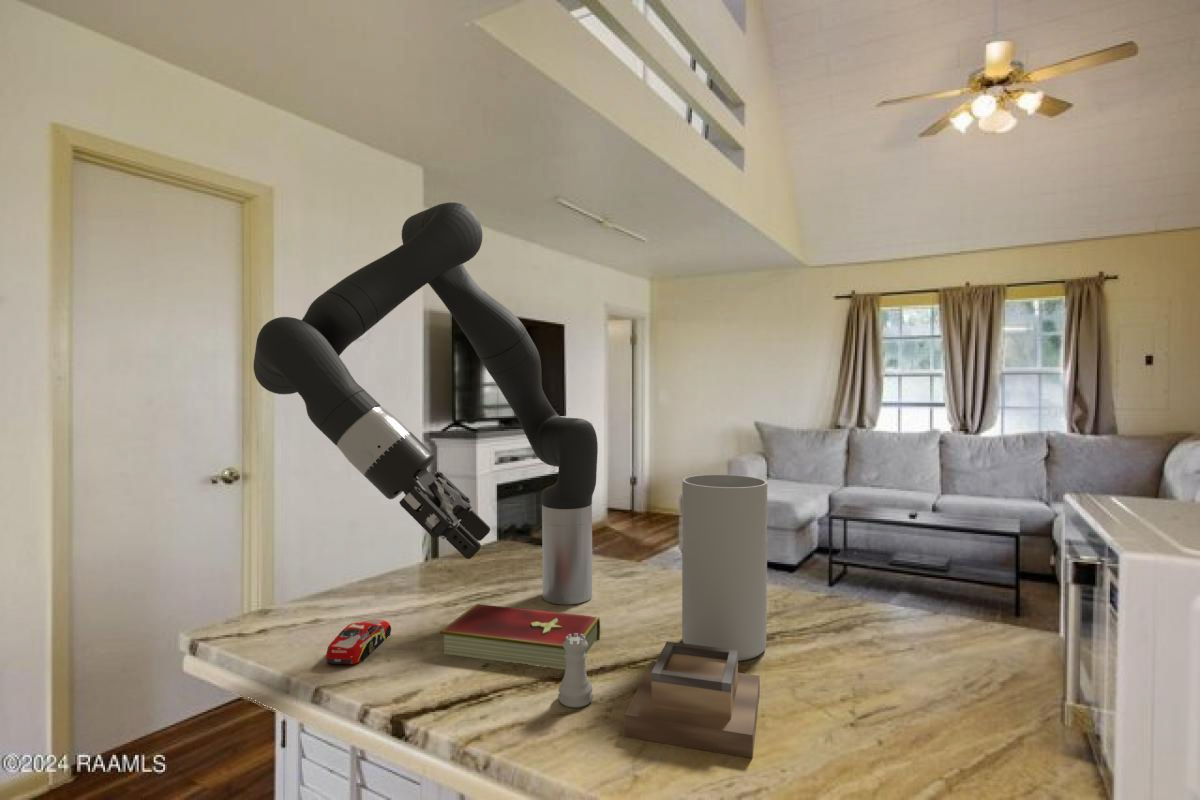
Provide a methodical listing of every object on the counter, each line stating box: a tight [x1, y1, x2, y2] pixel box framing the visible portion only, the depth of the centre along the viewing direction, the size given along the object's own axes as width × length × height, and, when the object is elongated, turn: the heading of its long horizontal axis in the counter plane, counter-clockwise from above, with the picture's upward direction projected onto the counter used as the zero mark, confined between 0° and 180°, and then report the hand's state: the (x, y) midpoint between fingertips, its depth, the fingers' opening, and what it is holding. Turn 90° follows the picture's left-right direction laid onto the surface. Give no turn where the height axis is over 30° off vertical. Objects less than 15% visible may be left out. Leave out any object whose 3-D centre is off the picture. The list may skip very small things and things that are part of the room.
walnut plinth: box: [624, 640, 761, 759], centre depth 75 cm, size 14×14×6 cm
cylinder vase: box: [681, 474, 768, 662], centre depth 94 cm, size 12×12×25 cm
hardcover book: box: [439, 603, 601, 670], centre depth 95 cm, size 12×21×4 cm, turn 74°
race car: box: [325, 619, 392, 666], centre depth 94 cm, size 13×5×4 cm, turn 173°
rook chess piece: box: [557, 633, 594, 709], centre depth 78 cm, size 4×4×8 cm
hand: (480, 544), depth 77 cm, fingers open, 8 cm apart
